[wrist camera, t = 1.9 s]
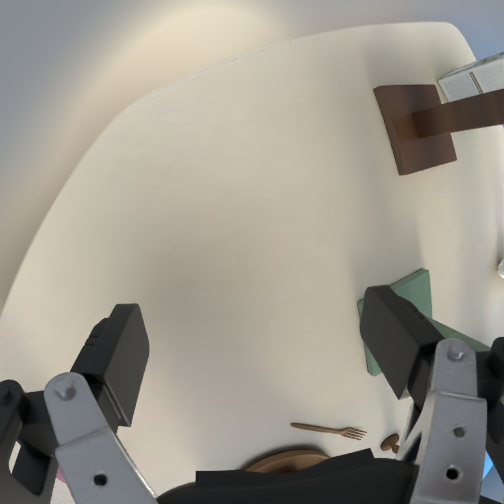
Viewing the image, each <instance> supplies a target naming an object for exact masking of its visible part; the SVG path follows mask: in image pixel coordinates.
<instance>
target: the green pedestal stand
mask: <svg viewBox="0 0 504 504" xmlns="http://www.w3.org/2000/svg"><path fill="white" fill-rule="evenodd" d="M389 287H390V288H391V289H392V290H393V291H394V292H395V293H396V294H397V295H398V296H401V297H403V298H405V299H406V300H408V301H410V302H412V303H413V304H414V305H415V306H416V307H417V309H418V310H419V312H421V313H422V314H423V315H424V316H425V319H426V318H427V319H428V320H429V321H430V322H431V323H432V324H433V325H434V327H435V328H436V329H437V330H438V331H439V332H440V333H441V334H442V335H443V336H444V338H445V339H447V338H455V339H459V340H462V341H464V342H466V343H468V344H469V345H470V346H471V347H472V348H473V350H474V351H475V352H477V351H490V349H491V348H490V347H488V346H486V345H484V344H482V343H480V342H478V341H476V340H474V339H472V338H470V337H468V336H466V335H464V334H462V333H460V332H458V331H456V330H454V329H452V328H450V327H448V326H445V325H443V324H441V323H439V322H437V321H435V320H433V319H432V303H431V288H430V277H429V270H426V269H421V270H419V271H417V272H415V273H413V274H411V275H409V276H408V277H406V278H404V279H402V280H400V281H398V282H396V283H394V284H392V285H390V286H389ZM363 302H364V299H362V300H360V301H358V302H357V303H358V309H359V314H360V320H361V314H362V308H363ZM364 345H365V352H366V359H367V366H368V372H369V373H370V374H371V375H372V376H373V377H374V376H376V375H377V374H379V373H381V372H382V371H381V369H380V367H379V366H378V364H377V362H376V361H375V359H374V357H373V356H372V354H371V352H370V351H369V349H368V347H367V346H366V344H365V343H364ZM501 402H502V403H503V404H504V395H503V397H502V399H501Z"/></svg>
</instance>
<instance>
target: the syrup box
mask: <svg viewBox="0 0 504 504" xmlns="http://www.w3.org/2000/svg"><path fill="white" fill-rule="evenodd" d="M438 82H439V85H440V86H441V89H442V91H443V93H444V94H445V96H446V98H447V100H448V102H452V101H455V100H459V99H463V98H467V97H470V96H474V95H478V94H482V93H486V92H490V91H495V90H499V89H503V88H504V52H503V53H500V54H497V55H494V56H491V57H488V58H485V59H482V60H479V61H476V62H473V63H471V64H468V65H465V66H463V67H460V68H458V69H455V70H454V71H452V72H451V73H449V74H447V75H446V76H444V77H442V78H441V79H439V80H438Z"/></svg>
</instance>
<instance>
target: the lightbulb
mask: <svg viewBox="0 0 504 504" xmlns="http://www.w3.org/2000/svg"><path fill="white" fill-rule="evenodd" d="M498 271H499V275H500V277H502V278H504V259H503V260H502V261H501V262H500V264H499V265H498Z"/></svg>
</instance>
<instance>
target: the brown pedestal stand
mask: <svg viewBox="0 0 504 504" xmlns="http://www.w3.org/2000/svg"><path fill="white" fill-rule="evenodd" d="M373 90H374V92H375V95H376V98H377V101H378V104H379V107H380V110H381V112H382V115H383V119H384V122H385V125H386V128H387V131H388V134H389V138H390V141H391V145H392V148H393V152H394V155H395V159H396V163H397V167H398V171H399V175H408V174H411V173H415V172H418V171H421V170H425V169H428V168H432V167H435V166H439V165H442V164H446V163H449V162H453V161H456V160H457V158H456V153H455V149H454V145H453V141H452V137H451V134H450V133H453V132H459V131H465V130H471V129H477V128H483V127H490V126H496V125H503V124H504V88H503V89H499V90H495V91H490V92H486V93H482V94H478V95H474V96H470V97H467V98H463V99H459V100H455V101H452V102H448V103H445V104H441V101H440V98H439V95H438V92H437V89H436V87H435V85H389V86H379V87H377V88H375V89H373Z"/></svg>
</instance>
